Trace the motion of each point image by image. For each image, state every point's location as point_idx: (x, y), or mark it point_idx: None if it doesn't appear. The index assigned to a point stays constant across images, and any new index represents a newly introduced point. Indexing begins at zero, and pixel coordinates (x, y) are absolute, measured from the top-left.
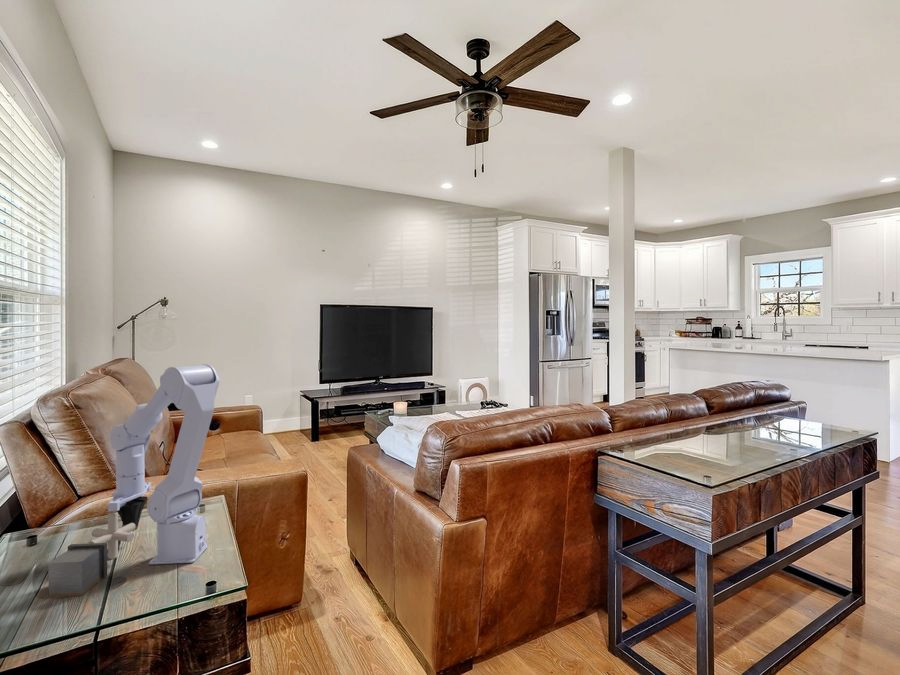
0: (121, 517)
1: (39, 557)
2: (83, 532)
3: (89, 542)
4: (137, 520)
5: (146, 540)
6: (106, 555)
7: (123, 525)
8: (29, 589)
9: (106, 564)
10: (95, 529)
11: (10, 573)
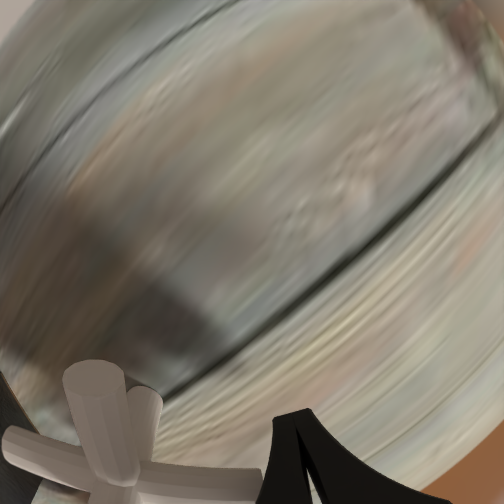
0: (261, 496)
1: (80, 42)
2: (370, 7)
3: (3, 442)
4: (316, 490)
5: (324, 405)
6: (29, 500)
7: (274, 439)
8: None
9: (39, 480)
10: (77, 402)
11: None
